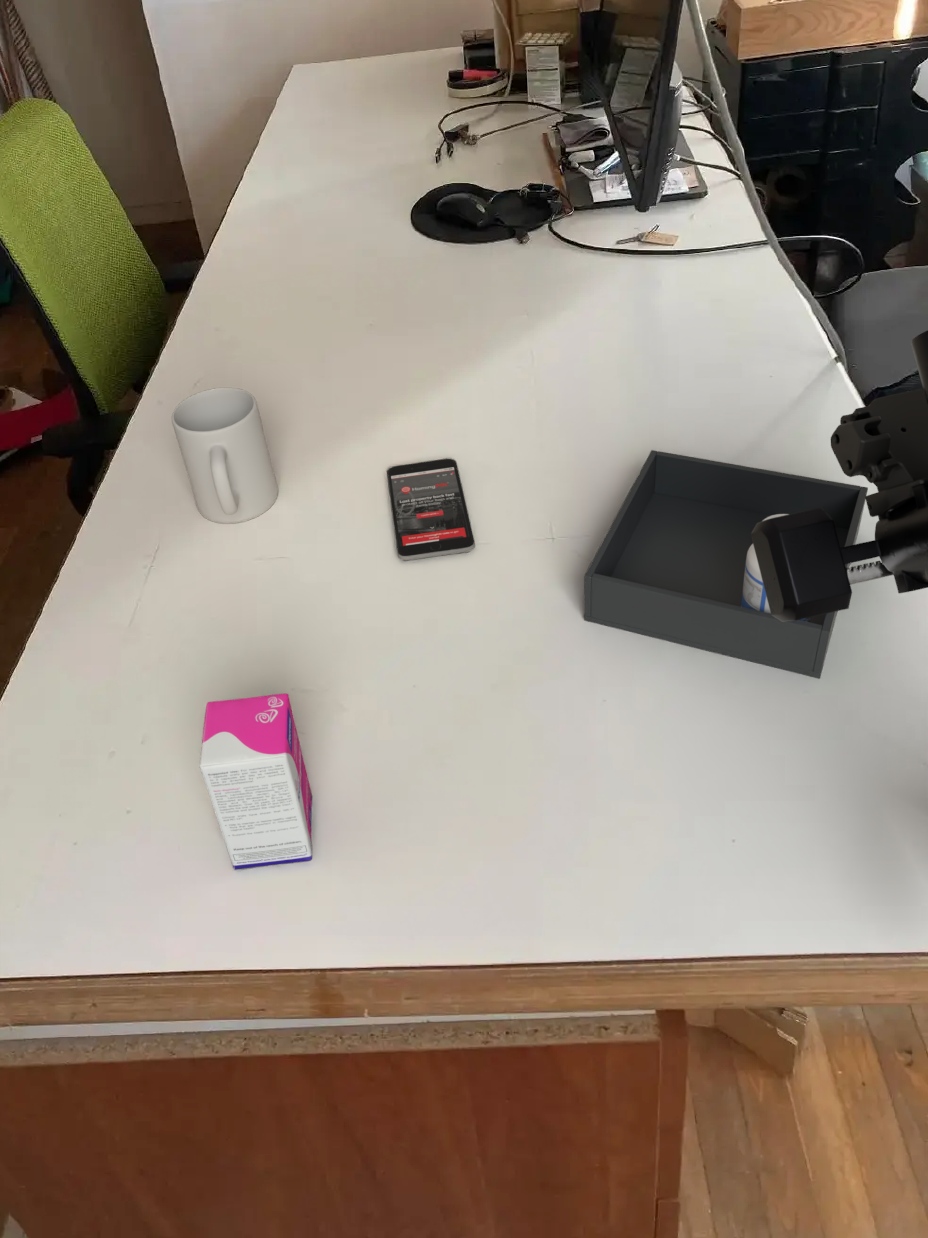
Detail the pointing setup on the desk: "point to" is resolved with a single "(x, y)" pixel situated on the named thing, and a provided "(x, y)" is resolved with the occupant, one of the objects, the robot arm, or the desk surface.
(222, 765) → the supplement box
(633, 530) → the dark grey storage tray
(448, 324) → the desk surface
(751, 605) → the pill bottle
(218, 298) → the desk surface
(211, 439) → the mug
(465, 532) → the smartphone
